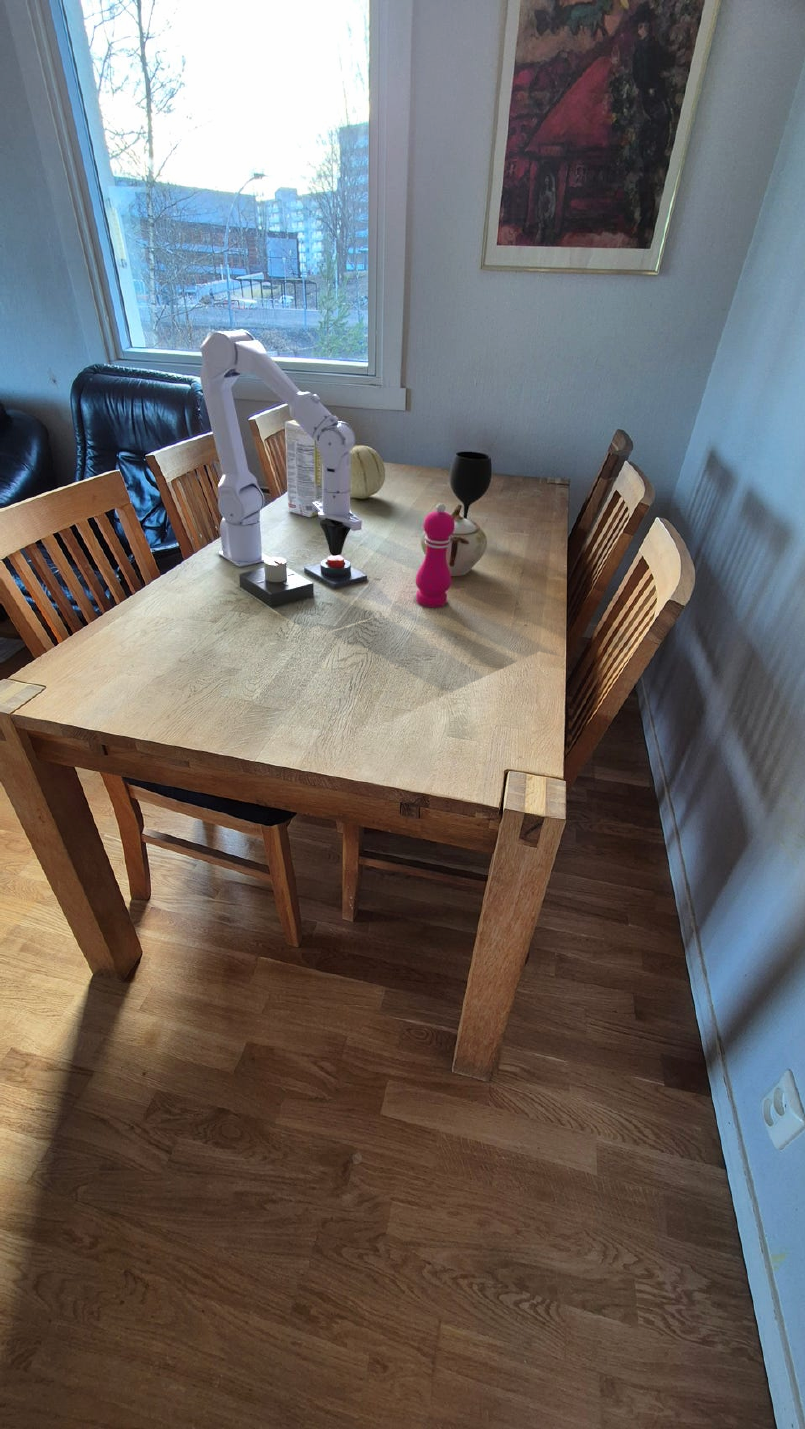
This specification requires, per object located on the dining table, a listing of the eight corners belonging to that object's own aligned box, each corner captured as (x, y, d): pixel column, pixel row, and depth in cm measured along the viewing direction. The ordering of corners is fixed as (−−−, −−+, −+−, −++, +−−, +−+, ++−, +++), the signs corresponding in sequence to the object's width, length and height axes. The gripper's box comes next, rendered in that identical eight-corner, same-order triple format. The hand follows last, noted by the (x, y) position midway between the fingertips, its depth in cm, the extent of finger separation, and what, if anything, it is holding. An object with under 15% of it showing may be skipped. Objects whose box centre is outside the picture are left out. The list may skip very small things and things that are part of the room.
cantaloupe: (383, 506, 179) (385, 452, 170) (332, 502, 178) (332, 447, 170) (384, 492, 191) (387, 440, 182) (337, 488, 190) (338, 436, 182)
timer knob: (260, 576, 124) (259, 558, 122) (279, 572, 127) (278, 554, 125) (272, 584, 122) (271, 565, 120) (291, 579, 124) (290, 560, 122)
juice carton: (328, 512, 171) (328, 418, 157) (310, 519, 165) (308, 422, 151) (302, 505, 174) (300, 412, 161) (283, 511, 169) (280, 416, 155)
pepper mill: (452, 597, 130) (464, 502, 118) (443, 611, 124) (454, 511, 113) (419, 591, 131) (428, 496, 120) (409, 604, 126) (417, 505, 114)
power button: (323, 563, 133) (323, 557, 132) (337, 560, 135) (337, 553, 135) (333, 569, 131) (333, 562, 130) (347, 565, 133) (347, 559, 132)
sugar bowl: (483, 589, 135) (494, 521, 126) (415, 583, 135) (421, 514, 126) (481, 557, 151) (490, 494, 142) (420, 551, 151) (426, 488, 142)
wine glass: (438, 537, 160) (446, 456, 149) (450, 526, 168) (459, 448, 157) (476, 544, 158) (487, 463, 146) (486, 533, 166) (498, 454, 154)
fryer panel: (240, 587, 127) (238, 572, 125) (281, 577, 133) (280, 563, 131) (271, 608, 120) (270, 593, 118) (313, 596, 126) (313, 582, 124)
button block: (304, 572, 135) (303, 559, 134) (336, 564, 141) (336, 551, 139) (334, 589, 129) (334, 576, 127) (367, 580, 134) (367, 567, 133)
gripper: (299, 483, 126) (300, 547, 134) (342, 501, 118) (341, 569, 125) (326, 478, 130) (327, 541, 138) (370, 496, 122) (368, 562, 129)
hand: (335, 554), depth 132 cm, fingers closed
